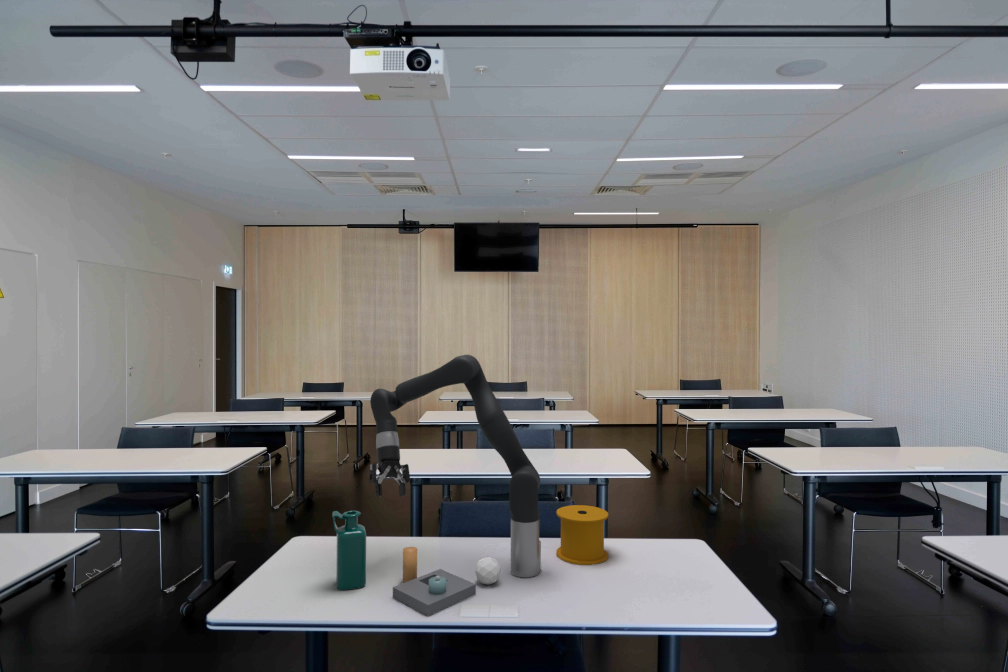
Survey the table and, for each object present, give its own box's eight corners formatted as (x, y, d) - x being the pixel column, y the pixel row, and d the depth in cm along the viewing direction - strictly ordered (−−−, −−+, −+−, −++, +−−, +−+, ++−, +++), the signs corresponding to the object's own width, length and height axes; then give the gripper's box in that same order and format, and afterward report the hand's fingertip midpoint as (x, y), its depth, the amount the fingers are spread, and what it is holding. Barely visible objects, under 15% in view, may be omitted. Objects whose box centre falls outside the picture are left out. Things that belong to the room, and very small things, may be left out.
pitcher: (364, 576, 174) (364, 506, 174) (366, 588, 166) (366, 514, 166) (331, 580, 171) (332, 509, 171) (332, 592, 163) (332, 517, 163)
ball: (491, 594, 169) (494, 580, 164) (469, 581, 171) (471, 566, 166) (503, 574, 174) (506, 560, 170) (481, 562, 177) (483, 547, 172)
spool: (612, 565, 184) (612, 520, 184) (558, 565, 185) (558, 519, 185) (603, 545, 202) (603, 504, 202) (554, 545, 203) (554, 504, 203)
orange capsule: (411, 577, 174) (411, 545, 174) (419, 581, 171) (420, 549, 171) (399, 581, 171) (400, 549, 171) (408, 586, 168) (408, 553, 168)
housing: (440, 578, 173) (440, 556, 173) (475, 594, 162) (476, 570, 162) (392, 597, 160) (392, 573, 160) (428, 616, 149) (428, 590, 149)
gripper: (375, 443, 178) (378, 494, 172) (411, 445, 188) (416, 493, 182) (363, 449, 183) (365, 499, 177) (399, 450, 193) (403, 498, 186)
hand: (391, 496), depth 179 cm, fingers open, 8 cm apart
